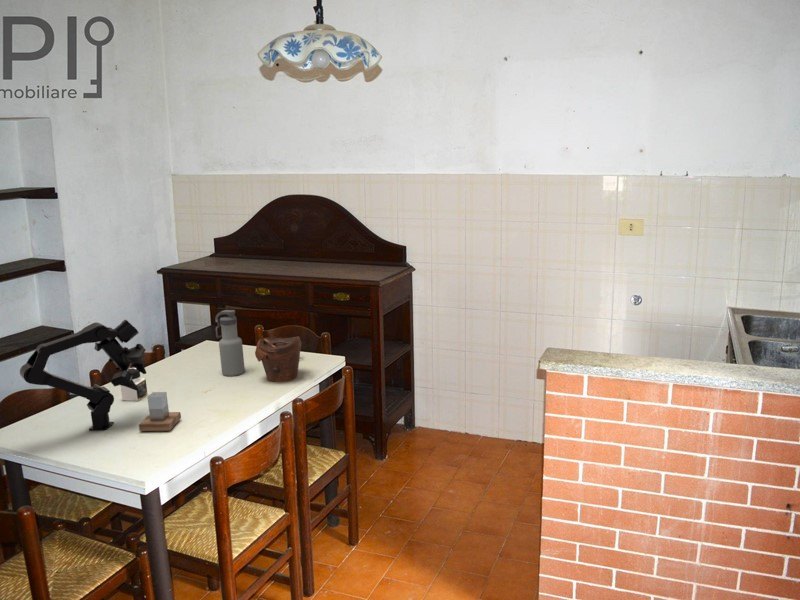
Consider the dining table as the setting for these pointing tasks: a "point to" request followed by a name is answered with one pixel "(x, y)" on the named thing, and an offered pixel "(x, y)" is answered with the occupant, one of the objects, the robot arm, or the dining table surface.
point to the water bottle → (230, 344)
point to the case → (279, 357)
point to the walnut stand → (160, 423)
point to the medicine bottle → (140, 382)
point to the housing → (158, 406)
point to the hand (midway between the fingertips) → (141, 381)
